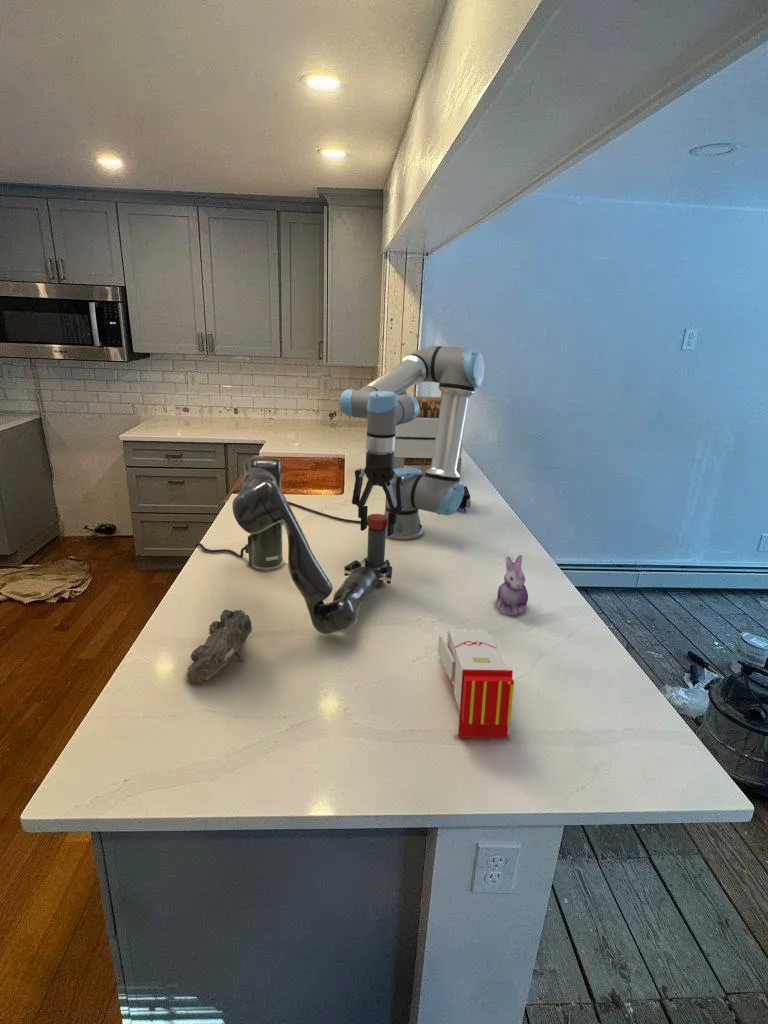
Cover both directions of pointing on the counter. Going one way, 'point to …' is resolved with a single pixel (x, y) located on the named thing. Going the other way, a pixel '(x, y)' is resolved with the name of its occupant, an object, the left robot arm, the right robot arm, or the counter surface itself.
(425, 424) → the grey storage crate
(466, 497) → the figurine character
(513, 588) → the figurine
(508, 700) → the toy
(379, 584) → the grey cylinder
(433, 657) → the counter surface
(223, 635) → the fossil
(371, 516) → the lid
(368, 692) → the counter surface
